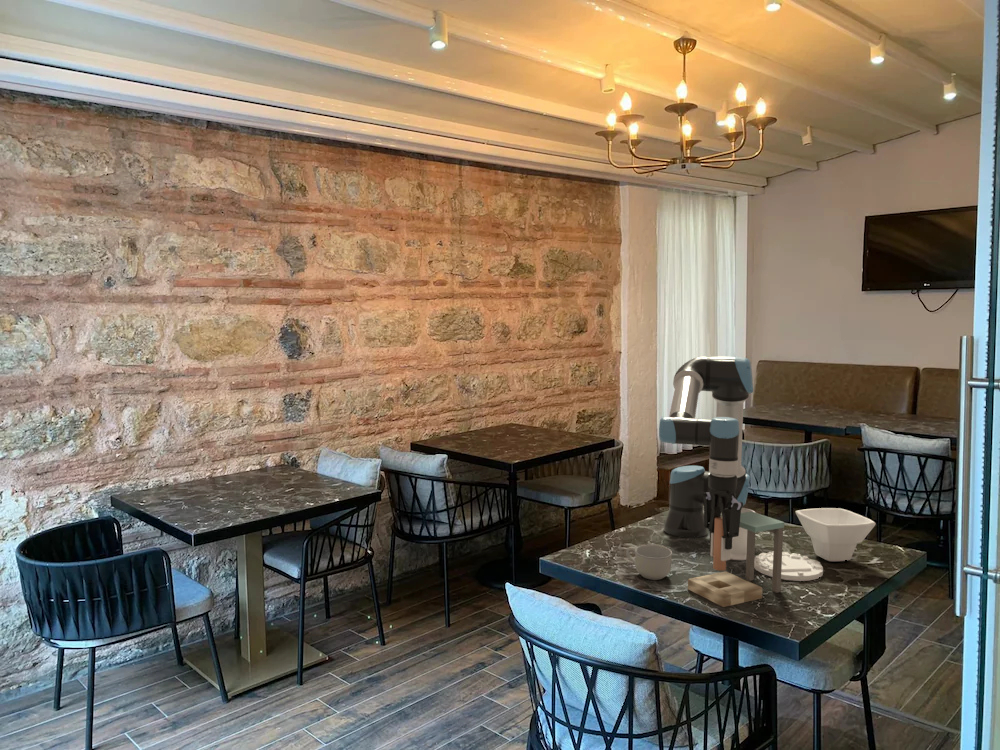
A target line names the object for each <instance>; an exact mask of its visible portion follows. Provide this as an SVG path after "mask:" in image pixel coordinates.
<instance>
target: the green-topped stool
mask: <svg viewBox="0 0 1000 750" xmlns="http://www.w3.org/2000/svg"><path fill="white" fill-rule="evenodd" d="M739 527H741V528H744V529H747V554H746V560H745V580H746V581H749V582H751V581H754V580H755V579H754V578H755V568H754V559H755V557H756V555H755V554H756V552H755V551H756V533H761V532H768V533H771V534H773V551H774V553H773V577H771V578H772V580H771V581H772V582H771V583H772V584H771V591H772V592H774V593H776V594H777V593H780V592H782V590H781V589H782V587H781V586H782V579H781V569H782V552H783V542H784V528H785V522H784V521H782V520H779V519H776V518H774V517H773V518H772V517H769V516H767V515H764V514H761V513H758V512H756V511H755V512H746V513H741V516H740V526H739Z"/></svg>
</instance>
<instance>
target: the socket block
mask: <svg viewBox="0 0 1000 750" xmlns="http://www.w3.org/2000/svg"><path fill="white" fill-rule="evenodd" d="M687 590H689V591H691V592H692V593H694V594H696V595H698V596H701V597H702V598H705V599H707V600H708V601H710V602H713V603H714V604H716V605H717V606H721V607H723V608H725V607H729V606H734V605H739V604H743V603H747V602H752V601H756V600H760V599H763V587H761V586H759V585H758V584H755V583H752V582H751V581H749V580H746V579H743V578H742V577H740V576H737V575H735V574H733V573H730V572H728V571H727V570H724V571H721V572H720V571H719V572H715V573H710V574H706V575H702V576H696V577H695V576H694V577H690V578H687Z"/></svg>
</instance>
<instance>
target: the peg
mask: <svg viewBox="0 0 1000 750" xmlns="http://www.w3.org/2000/svg"><path fill="white" fill-rule="evenodd" d="M722 536H724V531H723V520H722V516H720V517H716V518H715V524H714V555H713V561H712V562H713V563H712V568H713V570H715V571H719V572H720V571H721V572H724V571H727V560H726V561H721V537H722Z"/></svg>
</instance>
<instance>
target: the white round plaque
mask: <svg viewBox="0 0 1000 750" xmlns="http://www.w3.org/2000/svg"><path fill="white" fill-rule="evenodd" d="M773 553H774V550H773V551H768V552H767V553H766V552H761V553H760V554H758V555H755V559H754V570H755V571H757V572H759V573H761V574H762V575H766V576H768V577H771V578H772V577H773ZM823 574H824V567H823V566H822V564H821V562H820V561H818V560H817V559H811V558H809V556H807V555H803V556H801V554H800V553H794V552H793V553H791V554H790V553H789V552H788V551H782V569H781V580H786V581H795V582H796V581H797V582H801V581H803V582H805V581H807V582H808V581H813V580H817V579H819V577H820V578H821V577H823Z"/></svg>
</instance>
